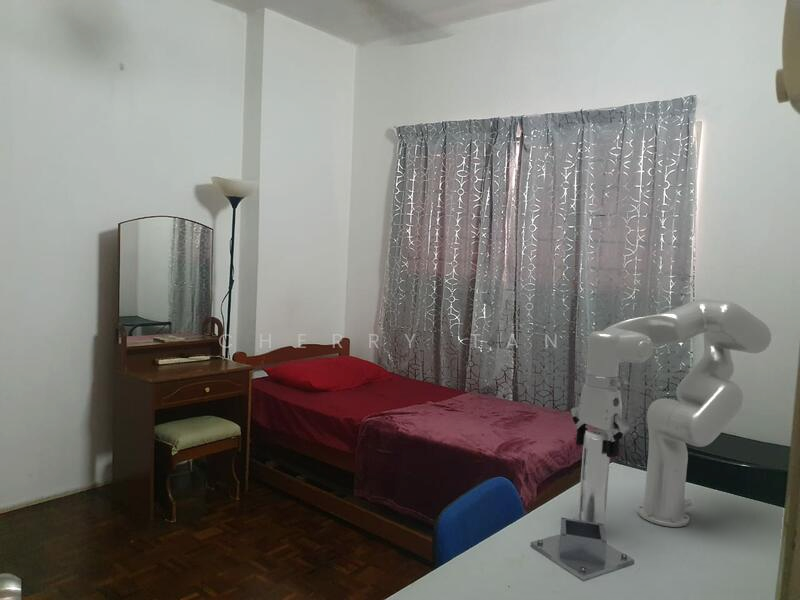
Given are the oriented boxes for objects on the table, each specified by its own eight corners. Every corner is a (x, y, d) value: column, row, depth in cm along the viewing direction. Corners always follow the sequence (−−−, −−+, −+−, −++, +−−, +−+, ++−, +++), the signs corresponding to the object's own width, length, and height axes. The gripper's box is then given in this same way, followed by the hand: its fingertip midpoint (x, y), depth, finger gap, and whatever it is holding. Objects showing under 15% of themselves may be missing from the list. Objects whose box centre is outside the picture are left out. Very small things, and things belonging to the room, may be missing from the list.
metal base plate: (579, 532, 144) (580, 509, 144) (633, 563, 131) (635, 537, 130) (530, 546, 136) (532, 521, 136) (583, 580, 123) (585, 553, 122)
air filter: (606, 537, 143) (613, 437, 141) (578, 533, 144) (585, 434, 142) (602, 525, 149) (609, 429, 147) (575, 522, 150) (582, 426, 148)
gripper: (641, 388, 138) (635, 459, 139) (585, 374, 153) (580, 438, 154) (620, 391, 134) (614, 463, 136) (564, 375, 149) (559, 441, 150)
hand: (596, 450), depth 145 cm, fingers open, 9 cm apart
